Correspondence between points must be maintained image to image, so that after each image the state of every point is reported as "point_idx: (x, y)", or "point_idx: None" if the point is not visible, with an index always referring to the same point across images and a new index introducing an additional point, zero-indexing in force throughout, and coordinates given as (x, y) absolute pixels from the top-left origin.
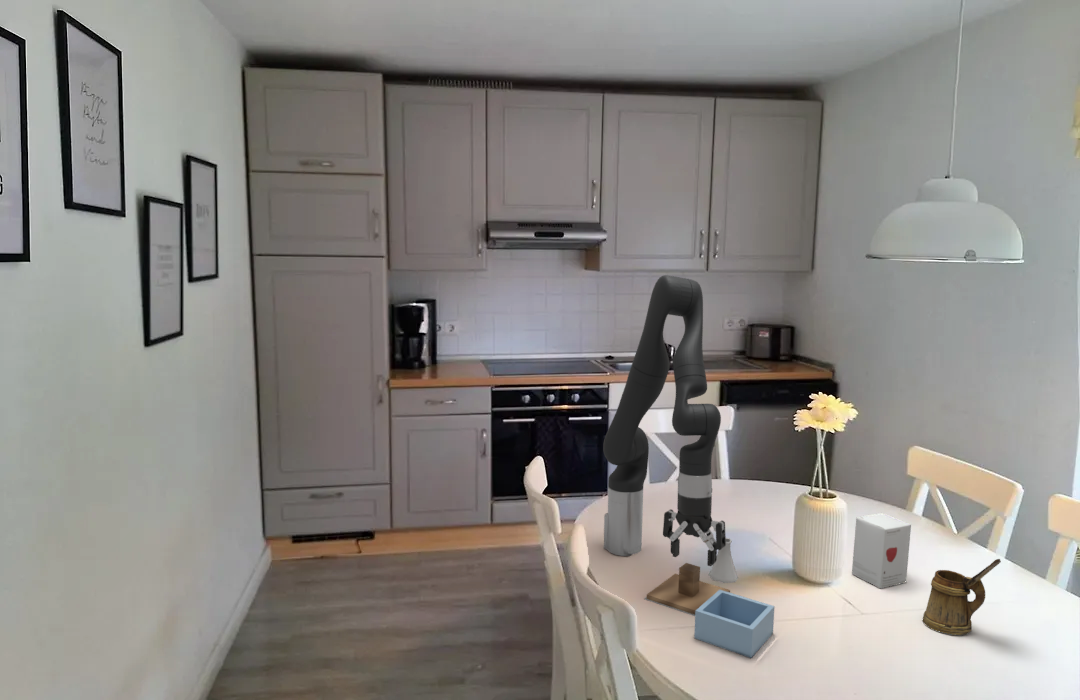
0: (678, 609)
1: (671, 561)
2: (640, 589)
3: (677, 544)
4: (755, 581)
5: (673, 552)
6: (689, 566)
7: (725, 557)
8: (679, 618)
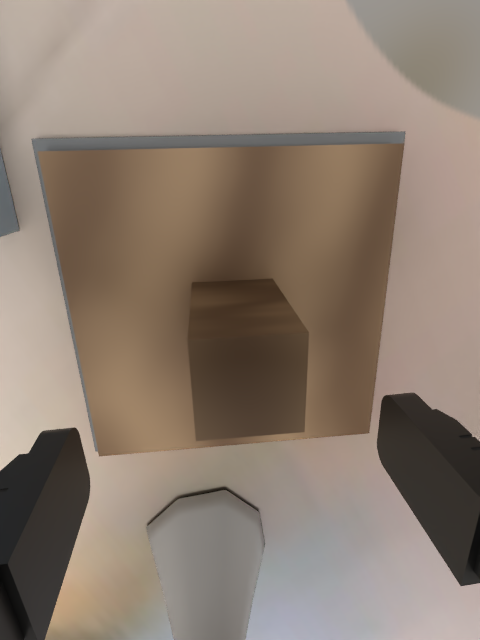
0: (201, 147)
1: None
2: (454, 242)
3: (442, 507)
4: (106, 582)
5: (424, 412)
6: (257, 399)
7: (190, 630)
8: (161, 82)
